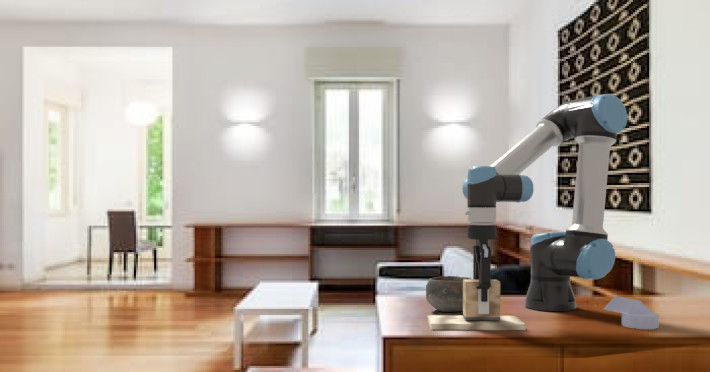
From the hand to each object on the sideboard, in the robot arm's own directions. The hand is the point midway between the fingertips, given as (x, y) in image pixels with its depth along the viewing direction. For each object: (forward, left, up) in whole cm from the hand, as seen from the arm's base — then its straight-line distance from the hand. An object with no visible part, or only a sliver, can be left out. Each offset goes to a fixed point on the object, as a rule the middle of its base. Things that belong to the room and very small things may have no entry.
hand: (481, 311), depth 166 cm
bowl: (+6, -21, -4) cm, 22 cm away
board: (+2, 0, -4) cm, 4 cm away
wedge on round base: (-41, -3, -4) cm, 41 cm away
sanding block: (0, 0, -2) cm, 2 cm away
